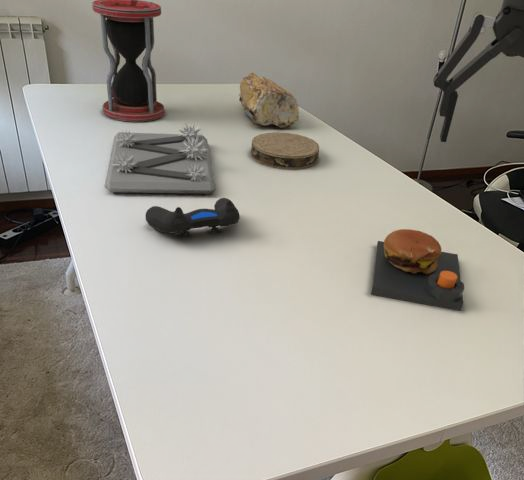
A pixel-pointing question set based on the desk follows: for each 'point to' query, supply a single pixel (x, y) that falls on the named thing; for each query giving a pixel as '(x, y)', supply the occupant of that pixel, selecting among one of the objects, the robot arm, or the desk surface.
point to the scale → (417, 282)
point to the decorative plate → (160, 163)
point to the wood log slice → (284, 150)
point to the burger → (412, 251)
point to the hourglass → (130, 59)
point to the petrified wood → (267, 102)
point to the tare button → (447, 279)
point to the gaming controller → (193, 217)
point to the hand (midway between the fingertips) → (489, 145)
